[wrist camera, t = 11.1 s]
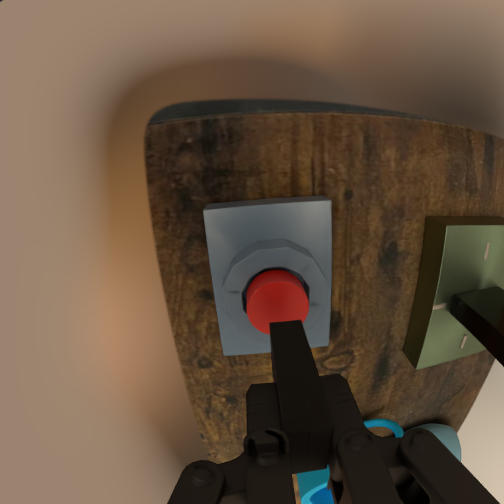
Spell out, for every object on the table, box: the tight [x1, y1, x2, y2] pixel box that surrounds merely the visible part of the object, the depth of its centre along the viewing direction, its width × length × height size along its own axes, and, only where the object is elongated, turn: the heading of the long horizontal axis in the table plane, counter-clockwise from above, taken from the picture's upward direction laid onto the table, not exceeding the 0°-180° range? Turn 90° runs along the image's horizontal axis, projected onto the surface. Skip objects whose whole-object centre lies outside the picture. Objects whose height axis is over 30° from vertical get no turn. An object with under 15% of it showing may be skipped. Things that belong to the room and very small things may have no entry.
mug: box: [297, 418, 404, 504], centre depth 25 cm, size 12×8×8 cm
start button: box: [247, 270, 309, 335], centre depth 18 cm, size 4×4×2 cm
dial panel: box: [403, 216, 504, 370], centre depth 22 cm, size 13×10×3 cm
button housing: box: [203, 195, 332, 356], centre depth 20 cm, size 11×8×4 cm
